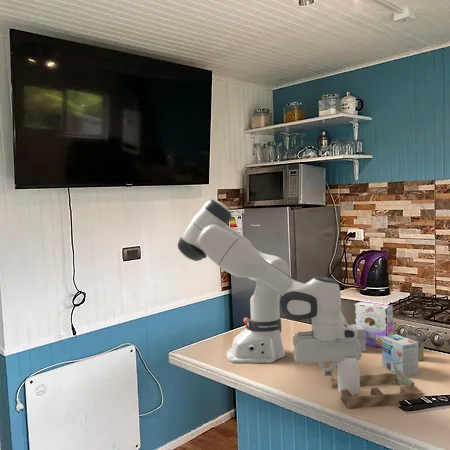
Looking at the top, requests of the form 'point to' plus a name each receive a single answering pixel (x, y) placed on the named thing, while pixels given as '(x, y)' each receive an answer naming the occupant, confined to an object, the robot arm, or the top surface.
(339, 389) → the can
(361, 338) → the medicine box
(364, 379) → the trap box
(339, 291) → the robot arm
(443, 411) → the top surface
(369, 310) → the candy box
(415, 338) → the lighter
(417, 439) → the top surface
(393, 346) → the light bulb box
